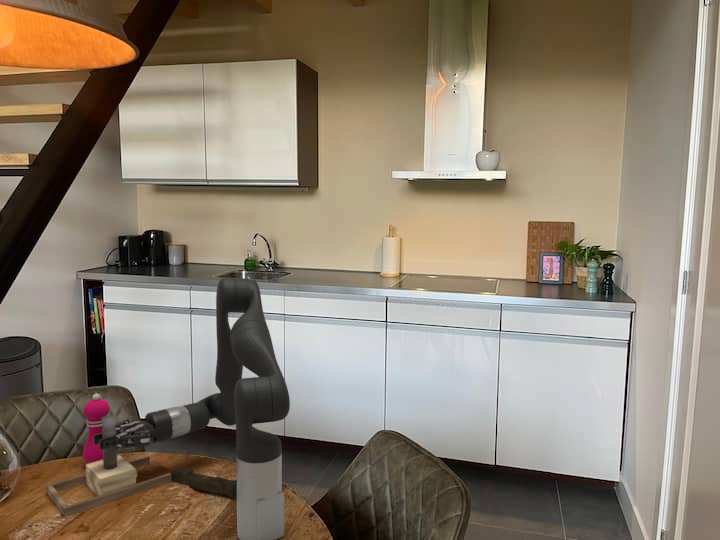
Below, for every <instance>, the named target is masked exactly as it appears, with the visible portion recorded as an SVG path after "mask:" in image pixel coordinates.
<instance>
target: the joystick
mask: <svg viewBox="0 0 720 540" xmlns="http://www.w3.org/2000/svg"><path fill="white" fill-rule="evenodd" d="M116 424H117V420H116V415H111V414H110V415H109V414H108V415H107V416H104V417H102V439H103V438H107V437H111V436H116ZM117 447H118V446H117V445H116V446H112V447H109V448H105V449H103V460H100V461H96V462H93V463H89V464H86V463H85V465H86V467H85V474H86V483H85V484H86V485H87V487H88V488H89V489H90V490H91V491H92V492H93V493H94V494H95V496H99V495H103V494H106V493H109V492H112V491H115V490H118V489H121V488H124V487H128V486H131V485H134V484H137V477H138V471H137V468H134V467H133V466H132V465H131V464H130V463H129V462H128V460H126V459H125V458H124V457H123V456H122V455H120V454H118V451H117V450H118V448H117Z"/></svg>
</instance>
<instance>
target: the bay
mask: <svg viewBox="0 0 720 540" xmlns="http://www.w3.org/2000/svg"><path fill="white" fill-rule="evenodd" d="M150 458H151V457H150V456H149V455H145V456H143V457H139V458H136V459H132V460H129V461H128V460H127V462H129V463H130V464H131V465H132V466H133V467H134V468H135V469H137V468H140V467H143V466H147V465H150V462H151V461H150V460H151V459H150ZM171 482H173V481H172V474H171V472H169V473H166V474H163V475H159V476H156V477H154V478H150V479H146V480H144V481H141V482H138V483H137V482H136V484H134V485H131V486H128V487H124V488H121V489H118V490H115V491H112V492H109V493H106V494H103V495H99V496H97V495H95V496H94V497H90V498H88V499H84V500H81V501H78V502H75V503H72V504H68V503H67V502H66V501H65V500H64V498H63V497H62V496H61V494H60V493H59V492H60V491H64V490H67V489H70V488H74V487H77V486H79V485H84V484H86V473H83V474H80V475H77V476H73V477H70V478H66V479H63V480H59V481H56V482H52V483H49V484H46V487H45V488H46V489H45V490H46V494H47V495H48V497H49V498H50V499H51V502H53V504H54V505H55V506H56V508H57V509H58V510H59V512H60V513H61V514H62V515H63V517H64V518H66V517H70V516H72V515H76V514H78V513H81V512H85V511H87V510H88V511H89V510H91V509H94V508H97V507H100V506H103V505H106V504H109V503H112V502H115V501H117V500H121V499H124V498H126V497H130V496H133V495H136V494H139V493H142V492H144V491H148V490H150V489H154V488H157V487H160V486H163V485H165V484H168V483H169V484H170V483H171Z"/></svg>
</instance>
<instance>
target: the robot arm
mask: <svg viewBox="0 0 720 540" xmlns="http://www.w3.org/2000/svg"><path fill="white" fill-rule="evenodd" d="M215 295H216V296H215V304H216V305H215V317H216V318H215V319H216V320H215V321H216V322H215V323H216V326H215V327H216V345H217V346H216V348H217V351H216V352H217V354H216V366H215V378H214V379H215V380H214V382H215V385H216V387H217V388H218V390H219V392H217V393H214V394H213V393H212V394H210V395H208V396H206V397H204V398H203V399H200V400H198V401H197V402H194V403H193V402H192V403H188V404H184V405H180V406H172V407H169V408H164V409H160V410H155V411H151V412H148V413H146V414H145V417H144V419H143V420H141V421H140V420H138V421H137V420H136V421H132V422H131V419H128V418H126V419H124V420H122V421H120V422H118V423H117V422H116V436H111V437H107V438H103V439H102V433H99V434H95V435H94V436H93V443H94V444H99V448H100V449H105V448H109V447H112V446H116V445H117V447H121V448H122V449H126V448H134V447H142V446H143V447H144V446H149V445H150V443H151V444H157V443H160V442H164V441H168V440H171V439H175V438H178V437H181V436H184V435H185V434H188V433H192V432H196V431H200V430H202V429H204V428H206V427H207V426H208V425H209V424H210V422H211V421H210V420H212V419H216V420H218V421H219V422H221V423H222V424H223V425H225V426H235V436H236V437H235V441H236V443H235V445H236V447H235V448H236V449H235V451H236V452H235V455H236V457H235V458H236V480H237V497H236V525H237V527H236V529H237V530H236V532H237V533H236V534H237V538H238V539H239V540H278V539H280V538H282V537H284V536H285V493H284V492H283V491H282V490H283V487H282V485H283V483H282V482H283V479H282V477H283V474H282V473H283V471H282V470H283V469H282V468H283V466H282V464H283V463H282V462H283V461H282V460H283V458H282V455H283V454H282V451H283V450H282V448H283V446H282V445H283V444H282V440H281V438H280V437H278V435H276V434H274V433H271V432H268V431H264V430H260V429H258V428H256V427H255V426H253V425H254V424H255V425H257V424H266V423H274V422H278V421H279V422H280V421H282V420H284V419H286V417H288V414H289V413H290V408H291V407H290V406H291V400H290V394H289V390H288V385H287V383H286V380H285V377H284V375H283V373H282V370H281V368H280V366H279V363H278V360H277V357H276V354H275V349H274V345H273V340H272V337H271V333H270V329H269V327H268V325H267V321H266V318H265V313H264V308H263V302H262V297H261V291H260V286H259V284H258V282H257V281H256V280H255V279H252V278H245V277H244V278H241V277H222V278H220V280H219V281H218V284H217V288H216V294H215ZM229 313H233V314H234V313H235V314H236V313H239V314H242V315H241V316H239V317H238V319H236V321H235V322H234V323H233V324H232V327H231V326H230V323H229ZM244 367H245V368H246V370H248V371H249V372H250V373H253V374H254V375H256V376H257V377H255V376H254V377H244V378H243V372H244V371H243V370H244Z"/></svg>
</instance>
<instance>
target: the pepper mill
mask: <svg viewBox="0 0 720 540" xmlns="http://www.w3.org/2000/svg"><path fill="white" fill-rule="evenodd" d="M109 413H110V405H109V402H108V401H107V400H105V399H102V398H101V396H100V394H99V393H94V394H93V395H92V399H91V400H89V401H88V402H86V403H85V405H84V407H83V415H84V417H85V418H86V419H85V422H86V426H87V427H88V436H87V440H86V442H85V444H84V447H83V450H82V458H83V460H84V461H85V462H86V463H85V465H84V467H85V468H86V464H89V463H93V462H96V461H100V460H103V449H100V448H99V444H94V443H93V436H94V435H95V434H99V433H102V417H104V416H108V415H109Z"/></svg>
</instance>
